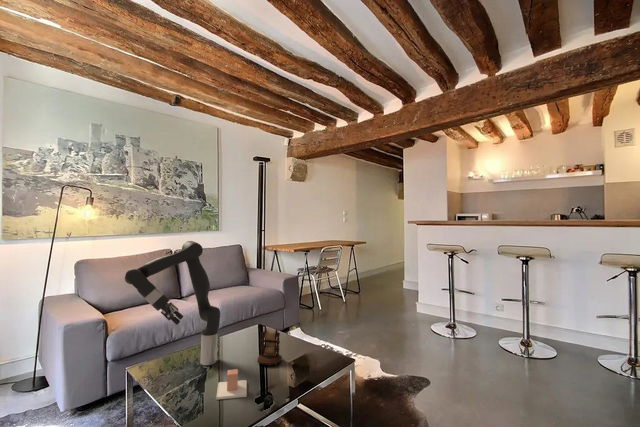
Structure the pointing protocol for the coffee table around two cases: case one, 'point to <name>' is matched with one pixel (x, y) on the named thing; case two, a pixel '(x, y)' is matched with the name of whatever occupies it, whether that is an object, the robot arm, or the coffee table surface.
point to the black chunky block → (267, 402)
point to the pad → (225, 394)
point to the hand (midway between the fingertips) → (180, 320)
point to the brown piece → (270, 348)
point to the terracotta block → (232, 380)
